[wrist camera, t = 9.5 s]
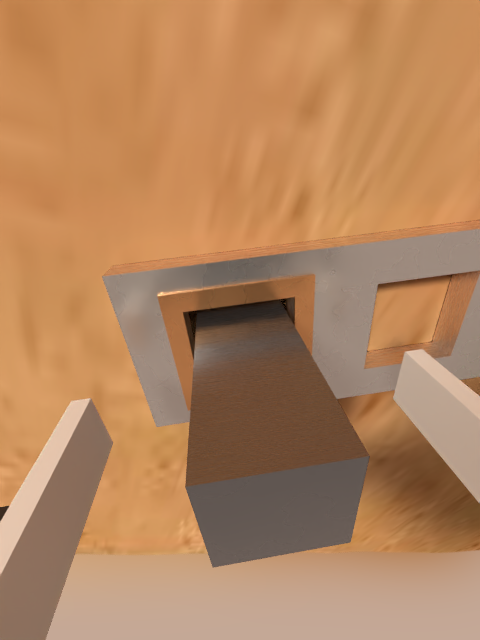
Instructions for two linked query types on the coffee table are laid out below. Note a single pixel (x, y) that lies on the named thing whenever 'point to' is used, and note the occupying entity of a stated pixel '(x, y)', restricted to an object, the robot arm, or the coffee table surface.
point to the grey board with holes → (301, 306)
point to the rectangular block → (267, 440)
